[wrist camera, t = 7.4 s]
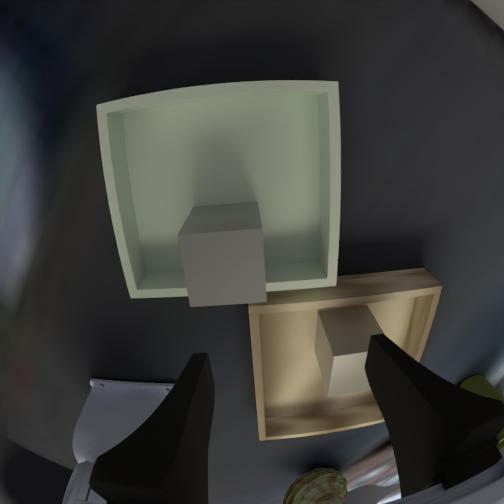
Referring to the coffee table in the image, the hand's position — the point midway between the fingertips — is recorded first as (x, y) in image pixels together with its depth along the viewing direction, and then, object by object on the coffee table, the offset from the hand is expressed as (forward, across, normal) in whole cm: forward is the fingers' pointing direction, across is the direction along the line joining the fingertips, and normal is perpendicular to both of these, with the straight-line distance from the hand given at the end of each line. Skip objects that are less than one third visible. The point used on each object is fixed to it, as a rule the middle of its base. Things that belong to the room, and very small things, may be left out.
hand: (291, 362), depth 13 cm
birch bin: (+9, -5, +9) cm, 14 cm away
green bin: (+9, +3, -6) cm, 11 cm away
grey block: (+9, +3, -3) cm, 10 cm away
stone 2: (+9, -5, +6) cm, 12 cm away
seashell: (+10, -5, +35) cm, 37 cm away
